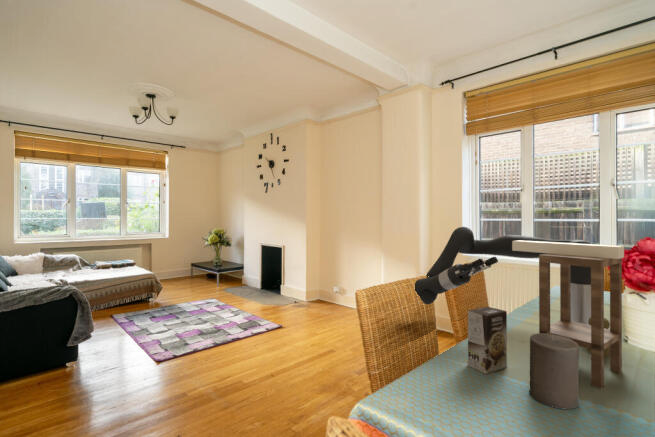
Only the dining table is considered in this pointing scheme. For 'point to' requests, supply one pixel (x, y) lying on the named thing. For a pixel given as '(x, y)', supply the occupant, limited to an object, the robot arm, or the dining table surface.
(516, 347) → the dining table surface
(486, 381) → the dining table surface
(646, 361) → the dining table surface
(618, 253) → the cutlery box
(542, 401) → the pillar candle
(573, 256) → the walnut shelf
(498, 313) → the coffee box
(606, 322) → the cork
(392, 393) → the dining table surface
